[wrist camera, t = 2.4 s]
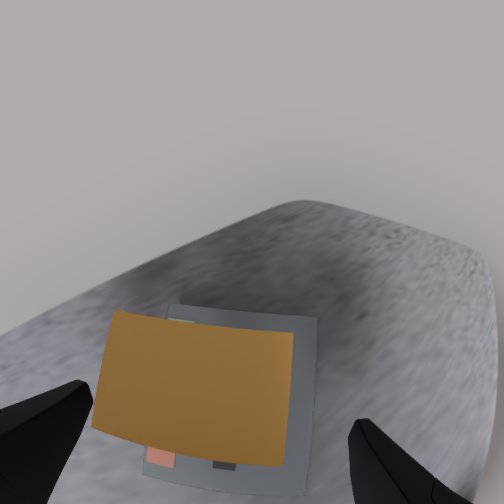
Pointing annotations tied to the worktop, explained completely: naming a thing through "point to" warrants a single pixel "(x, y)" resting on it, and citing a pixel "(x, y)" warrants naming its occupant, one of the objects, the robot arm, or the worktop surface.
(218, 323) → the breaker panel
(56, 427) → the robot arm
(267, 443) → the breaker handle
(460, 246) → the worktop surface
